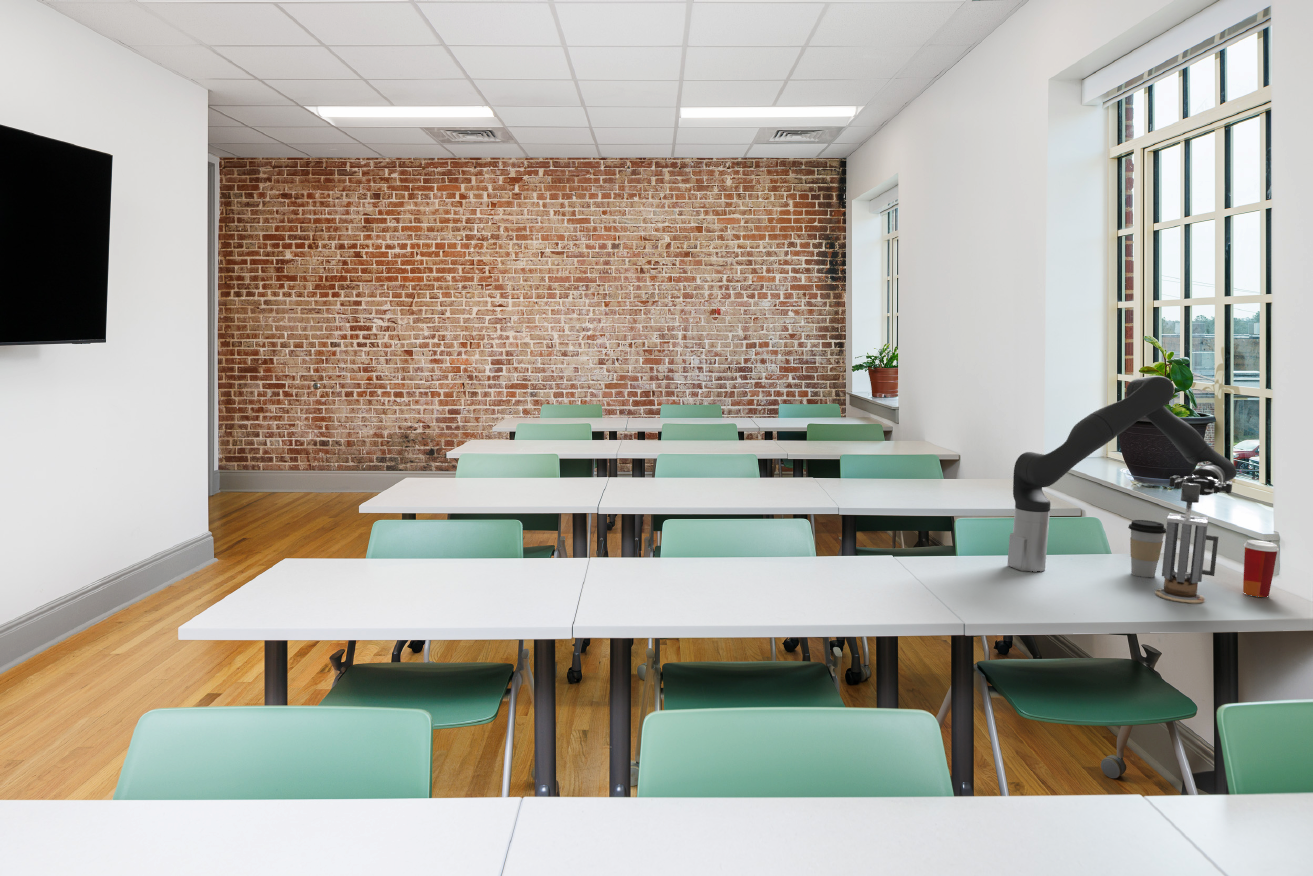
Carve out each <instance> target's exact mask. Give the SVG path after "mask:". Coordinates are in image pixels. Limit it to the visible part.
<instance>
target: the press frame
mask: <svg viewBox="0 0 1313 876" xmlns="http://www.w3.org/2000/svg"><path fill="white" fill-rule="evenodd" d="M1185 514H1186V513H1185ZM1185 514H1183V513H1174V512H1169V514H1168V515H1167V518H1166V528H1165V529H1166V533H1165V538H1164V539H1165V540H1164V549H1163V558H1162V559H1163V560H1162V570H1161V577H1164V582H1163V583H1164V584H1163V588H1158V589H1156V590H1155V591H1154V593H1155V596H1157V597H1159V598H1161V599H1164V600H1166V601H1170V602H1176V603H1182V604H1190V605H1191V604H1192V605H1193V604H1197V605H1198V604H1203V603H1204V602H1205V600H1206V598H1205V597H1204V596H1203V595H1201V594H1199V593H1198V588H1199V587H1198V585H1199V583H1202V581H1203V575H1205V576H1212V577H1215V573H1216V572H1215V571H1216V565H1217V556H1218V555H1217V554H1218V544H1219V536H1216V535H1207V534H1208V533H1207V532H1208V525H1209V523H1208V522H1209V517H1208V516H1200V515H1194V514H1193V515H1192V514H1191V519H1187V518H1185ZM1180 524H1181V530H1180V532H1181V533H1180V542H1179V549H1178V550H1179V551H1178V562H1177V569H1176V570H1177V578H1175V577H1172V572H1173V570H1175V564H1176V554H1177V545H1178V535H1179V527H1180ZM1193 526H1194V527H1195V529H1194V530H1195V531H1194V538H1193V548H1192V556H1191V567H1190V572H1191V574H1190V579H1185V574H1186V571H1187V572H1188V566H1189V555H1190V545H1191V539H1192V537H1191V536H1192V528H1193ZM1207 541H1210V542H1211V541H1212V548H1211V549H1212V551H1211V559H1210V568H1209V570H1208V569H1204V562H1205V552H1206V546H1207V545H1206V544H1207Z"/></svg>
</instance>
